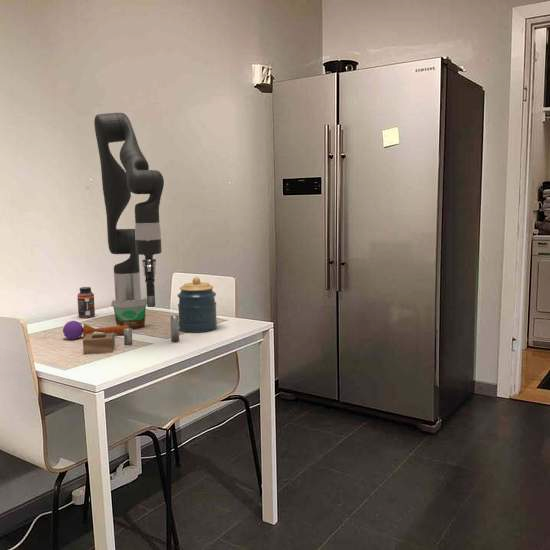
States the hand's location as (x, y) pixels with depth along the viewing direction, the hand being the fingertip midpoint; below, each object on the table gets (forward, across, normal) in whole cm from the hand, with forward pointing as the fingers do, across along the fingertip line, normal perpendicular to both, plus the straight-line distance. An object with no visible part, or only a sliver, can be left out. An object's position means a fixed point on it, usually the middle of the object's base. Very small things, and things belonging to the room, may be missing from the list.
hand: (150, 294), depth 167 cm
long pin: (+4, 0, 0) cm, 4 cm away
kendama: (+16, -12, -18) cm, 27 cm away
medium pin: (+15, 0, +7) cm, 16 cm away
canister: (+15, -16, +15) cm, 26 cm away
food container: (+16, -22, -7) cm, 28 cm away
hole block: (+15, +4, -15) cm, 22 cm away
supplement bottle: (+16, -47, -25) cm, 55 cm away
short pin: (+15, 0, -7) cm, 17 cm away
